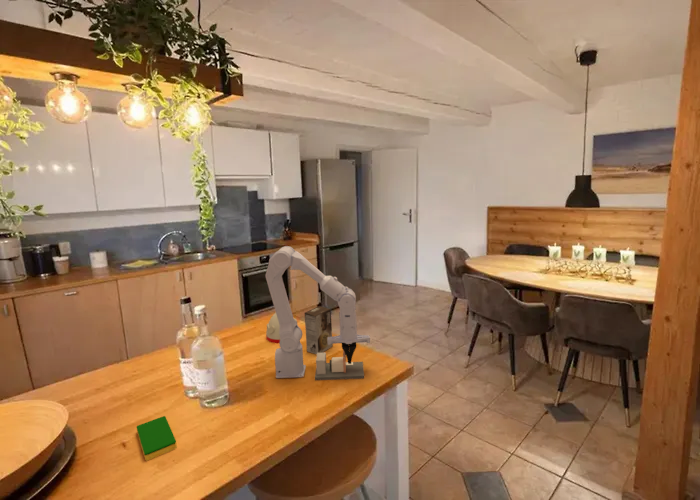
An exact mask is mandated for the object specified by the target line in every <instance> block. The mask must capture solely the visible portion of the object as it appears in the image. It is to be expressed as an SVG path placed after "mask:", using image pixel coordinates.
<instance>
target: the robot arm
mask: <svg viewBox="0 0 700 500" xmlns="http://www.w3.org/2000/svg"><path fill="white" fill-rule="evenodd" d="M289 267H290V270H292V271H293V270H294V271H297V270H299V271H301V272H302V273H304V274H305V275H307V276H308V277H309V278H311V279H312V280H314V281H316V283H317V284H319V289H320V290H321V291H322V292H323V293H325V294H326V295H327V296H329V298H331V299H332V300H333V301H334V302H337V305H338V307H339V315H338V316H339V318H338V319H339V335H334V336H333V335H332V337H328V338H327V342H328V345H330V344H333V345H334V344H341V349H342V351H343V350H344V352H345V354H346V361H347V362H348V364H351V362H352V359H353V355H354V352H355V351H356V349H357V343H367V344H370V343H371V336H370V335H368V334H367V335H366V334H358V332H357V331H358V329H357V323H358V322H357V312H356V311H357V306H356V305H357V299H356V298H357V296H356V293H355V292H354V291H353V289H352V288H349V287H348V285H347V286H344V284H343V283H341V282H340V281H339V280H338V277H336V276H332V275H325V274H324V273H323V272H322V271H320V269H318V268H317V267H316V266H315V265H314V264H312V263H311V262H310V261H309V260H308V259H307V258H306V257H305V256H304V255H303V254H301V253H300V252H299V251H297V250H295V249H294V248H293V247H292V246H290V245H289V246H288V245H285V246H281V248H279V250H277V251H275V252H273V254H272V256H271V257H270V258H269V260H268V265H267V269H266V272H265V280H266V282H267V287H268V290H269V294H270V296H271V301H272V304H273V308H274V311H275V313H276V315H277V318H278V321H279V325H280V328H279V335H280V343H278V344H279V348H276V349H275V352H274V364H275V378H276V379H284V378H285V379H286V378H287V379H289V378H291V379H292V378H303V377H304V376H305V373H306V372H305V371H306V367H307V366H306V364H304V352H303V344H302V343H301V339H302V338H303V330H302V329H301V327H299V325H298V321H297V322H296V321H295V320H294V319H295V318H294V314H293V312H292V309H291V304H290V302H289V297H288V295H287V290H286V288H285V287H286V286H285V283H284V280H283V275H284V273H285V271H286V270H287V269H288V268H289Z"/></svg>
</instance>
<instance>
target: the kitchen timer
mask: <svg viewBox="0 0 700 500" xmlns="http://www.w3.org/2000/svg"><path fill="white" fill-rule="evenodd" d="M294 320H295V321H296V322H297V323H298V320H297V318H294ZM279 328H280V325H279V321H278V318H277V315H276V312H274V313H273V315H272V316H271V317H270V319H269V321H268V323H266V334H265V335H266V340H267V342H269V343H273V344H279V343H280V335H279Z"/></svg>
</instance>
